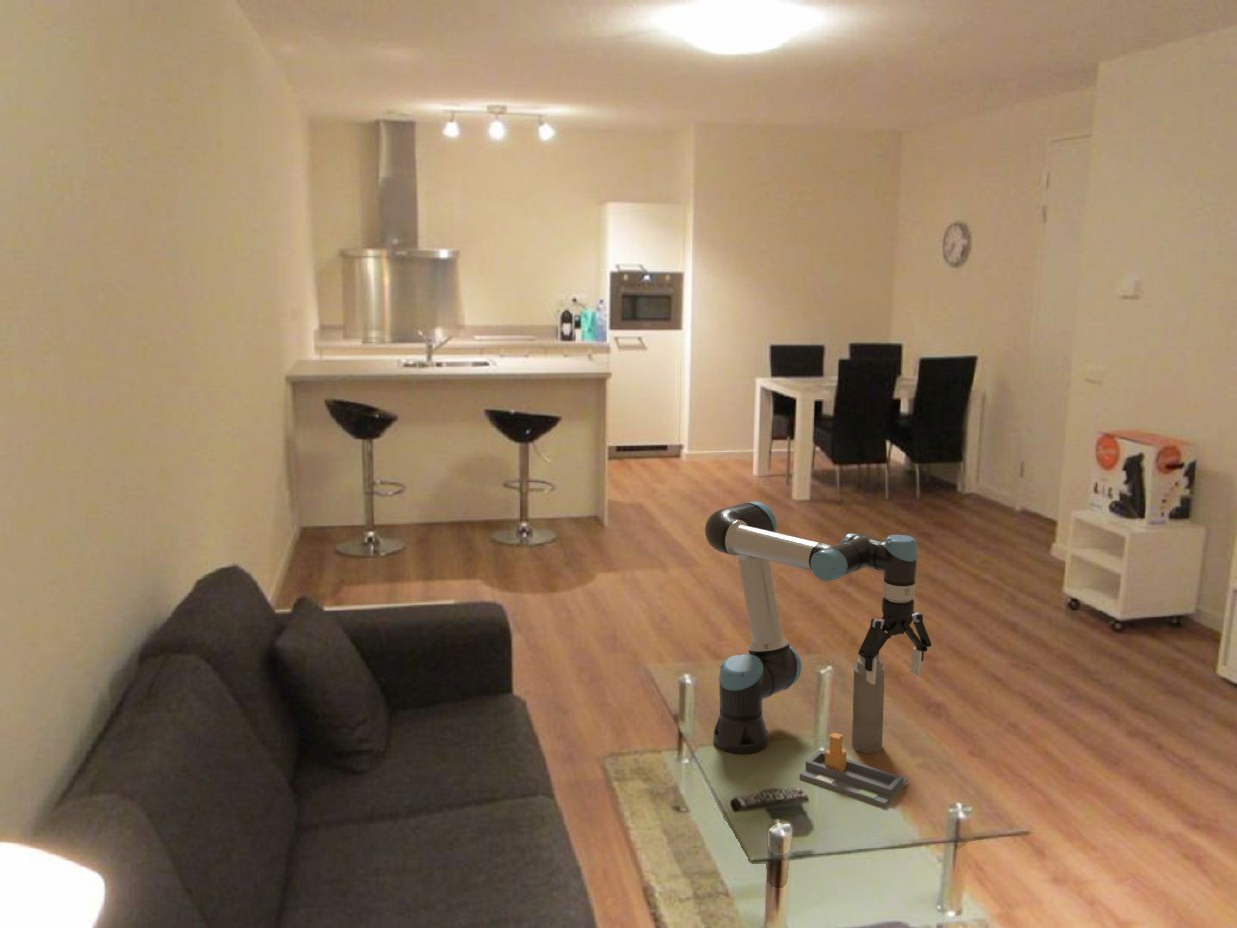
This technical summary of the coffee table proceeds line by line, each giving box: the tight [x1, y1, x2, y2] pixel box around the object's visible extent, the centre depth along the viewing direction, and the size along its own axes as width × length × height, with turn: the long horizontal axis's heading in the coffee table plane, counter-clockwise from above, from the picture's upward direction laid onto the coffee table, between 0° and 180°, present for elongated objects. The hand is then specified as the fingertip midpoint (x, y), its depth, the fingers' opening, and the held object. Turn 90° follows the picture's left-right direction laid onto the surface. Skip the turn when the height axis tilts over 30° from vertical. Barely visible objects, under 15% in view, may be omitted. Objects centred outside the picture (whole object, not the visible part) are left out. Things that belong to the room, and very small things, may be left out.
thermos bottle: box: [851, 651, 886, 754], centre depth 256 cm, size 8×8×28 cm
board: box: [799, 749, 909, 808], centre depth 241 cm, size 23×14×3 cm, turn 51°
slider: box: [824, 732, 848, 771], centre depth 243 cm, size 4×4×9 cm
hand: (893, 677), depth 238 cm, fingers open, 13 cm apart
